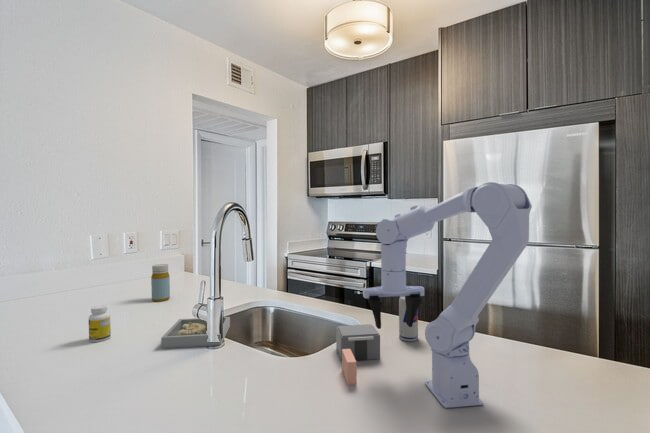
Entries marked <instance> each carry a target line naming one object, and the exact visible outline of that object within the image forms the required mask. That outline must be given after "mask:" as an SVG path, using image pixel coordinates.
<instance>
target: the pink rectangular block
mask: <svg viewBox="0 0 650 433" xmlns="http://www.w3.org/2000/svg"><path fill="white" fill-rule="evenodd" d="M341 371H342V375H344V379H345V382H346V385H347V386H351V385H352V386H354V385H358V384H357V382H358V381H357V380H358V379H357V371H358V370H357V360H355V358H354V356H353V353H352V351H351V349H342V361H341Z"/></svg>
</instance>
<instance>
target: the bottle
mask: <svg viewBox="0 0 650 433" xmlns="http://www.w3.org/2000/svg"><path fill="white" fill-rule="evenodd" d="M151 268H152V274H151V277H150V278H151V279H150V280H151V281H150V282H151V300H152V302H154V303H156V302H157V303H159V302H166V301H168V300H169V299H170V297H171V290H170V289H171V286H170V280H171V279H170V277H171V276H170V274H169V264H166V263H159V264H153V265H151Z"/></svg>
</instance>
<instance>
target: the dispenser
mask: <svg viewBox="0 0 650 433" xmlns="http://www.w3.org/2000/svg"><path fill="white" fill-rule="evenodd" d="M335 329H336V330H335V331H336V332H335V334H336V335H335V340H336V341H335V343H336V345H335V346H336V347H335V348H336V351H337V354H338V357H339V359H340V362H342V349H351V351H352V353H353V356H354V358H355V360H356V361H369V360H371V361H372V360H380V359H381V335H380V333H379V332H378V331H377V328H375V326H374V325H373V324H372V323H367V324H366V323H365V324H351V325H349V324H348V325H337V326H336V327H335Z"/></svg>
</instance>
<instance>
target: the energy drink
mask: <svg viewBox="0 0 650 433" xmlns="http://www.w3.org/2000/svg"><path fill="white" fill-rule="evenodd" d="M398 338H399V339H400V340H402V341H404V342H411V343H412V342H416V341H417V340H418V339H419V308H418V309H417V311H416V314H415V317H414V321H413V325H412V327H409V326H408V325H407V324H406V301H405V296H399V299H398Z"/></svg>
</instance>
